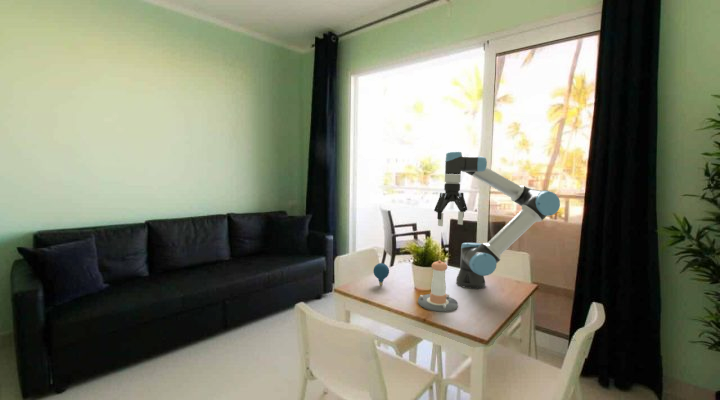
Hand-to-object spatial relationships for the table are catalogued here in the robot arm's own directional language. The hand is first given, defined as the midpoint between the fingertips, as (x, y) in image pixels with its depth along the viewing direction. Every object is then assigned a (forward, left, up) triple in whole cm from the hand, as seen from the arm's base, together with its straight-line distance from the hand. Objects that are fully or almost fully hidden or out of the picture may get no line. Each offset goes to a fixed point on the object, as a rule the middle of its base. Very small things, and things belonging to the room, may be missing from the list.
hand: (450, 225), depth 166 cm
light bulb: (+32, -13, -35) cm, 49 cm away
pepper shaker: (+11, +14, -34) cm, 38 cm away
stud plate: (+11, +14, -35) cm, 39 cm away
